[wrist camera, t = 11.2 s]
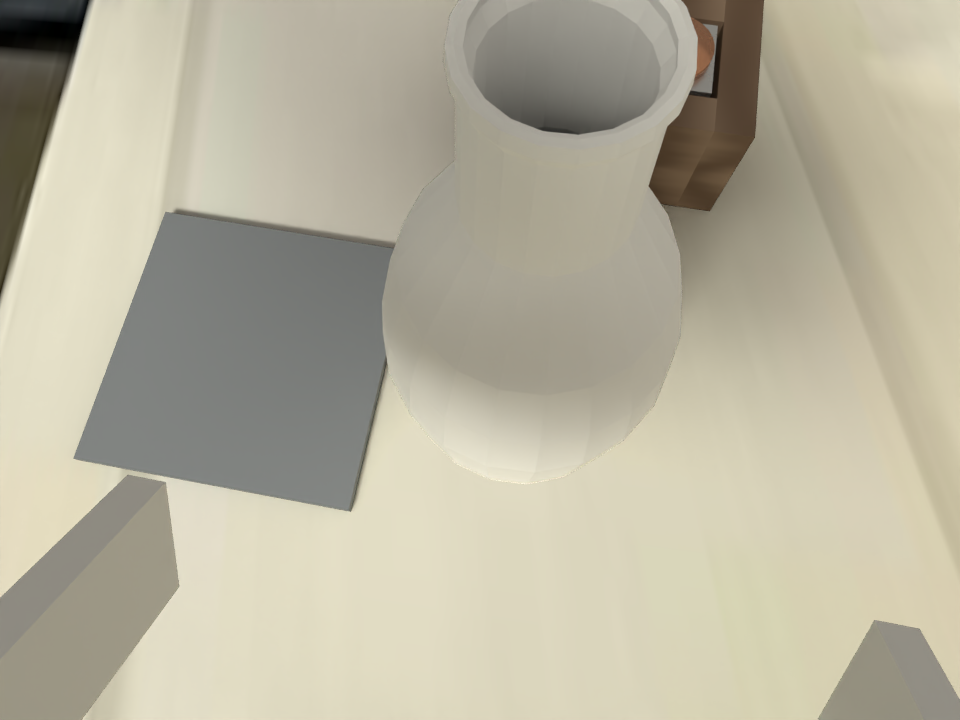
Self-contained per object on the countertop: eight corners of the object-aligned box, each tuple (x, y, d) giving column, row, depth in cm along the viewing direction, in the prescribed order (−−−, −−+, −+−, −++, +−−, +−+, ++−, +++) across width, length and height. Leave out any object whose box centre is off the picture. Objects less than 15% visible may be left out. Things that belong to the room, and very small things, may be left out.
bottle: (656, 373, 36) (998, -30, 12) (547, 545, 33) (699, 485, 9) (489, 270, 38) (487, -253, 14) (374, 425, 35) (119, 112, 11)
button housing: (560, 188, 40) (574, 111, 33) (580, 69, 42) (597, -24, 36) (709, 211, 39) (754, 137, 32) (720, 89, 42) (764, -3, 35)
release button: (608, 142, 38) (627, 73, 33) (617, 81, 40) (637, 5, 34) (683, 153, 38) (715, 84, 33) (690, 91, 39) (721, 16, 34)
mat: (80, 460, 35) (73, 458, 34) (170, 216, 39) (165, 212, 39) (350, 511, 34) (348, 510, 33) (411, 255, 38) (410, 250, 38)
